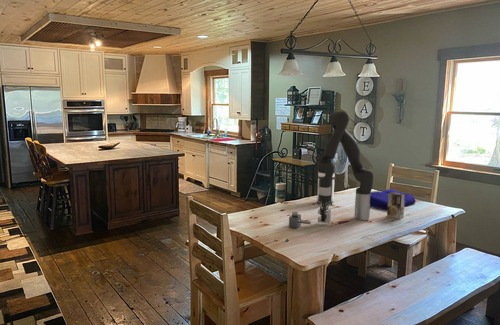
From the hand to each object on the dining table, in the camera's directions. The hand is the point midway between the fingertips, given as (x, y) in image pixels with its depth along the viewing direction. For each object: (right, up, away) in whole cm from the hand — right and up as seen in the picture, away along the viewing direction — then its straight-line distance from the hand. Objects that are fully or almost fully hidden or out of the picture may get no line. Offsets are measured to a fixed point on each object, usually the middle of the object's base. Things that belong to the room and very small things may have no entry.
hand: (324, 219), depth 235 cm
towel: (+58, +4, +51) cm, 78 cm away
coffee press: (+11, +5, +49) cm, 50 cm away
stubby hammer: (-16, -4, -6) cm, 17 cm away
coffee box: (+51, -1, +19) cm, 55 cm away
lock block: (0, -1, 0) cm, 1 cm away
